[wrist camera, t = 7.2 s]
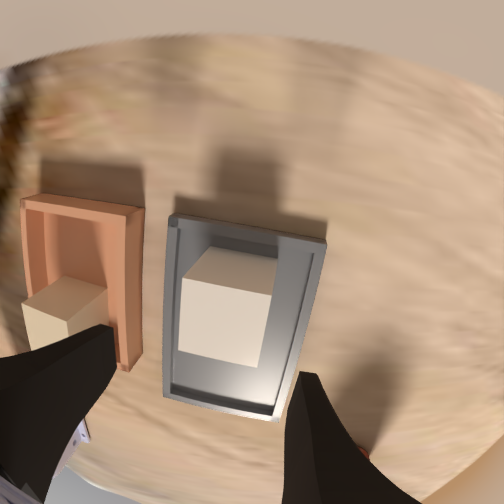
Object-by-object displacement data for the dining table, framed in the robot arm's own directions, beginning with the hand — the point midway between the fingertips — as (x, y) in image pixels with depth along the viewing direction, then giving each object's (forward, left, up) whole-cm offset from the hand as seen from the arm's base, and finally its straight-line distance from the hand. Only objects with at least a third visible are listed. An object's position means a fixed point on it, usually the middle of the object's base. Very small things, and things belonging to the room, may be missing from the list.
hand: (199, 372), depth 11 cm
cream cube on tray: (0, 0, -9) cm, 9 cm away
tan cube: (-4, +11, -8) cm, 14 cm away
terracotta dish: (-2, +11, -9) cm, 14 cm away
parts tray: (-4, 0, -9) cm, 10 cm away
